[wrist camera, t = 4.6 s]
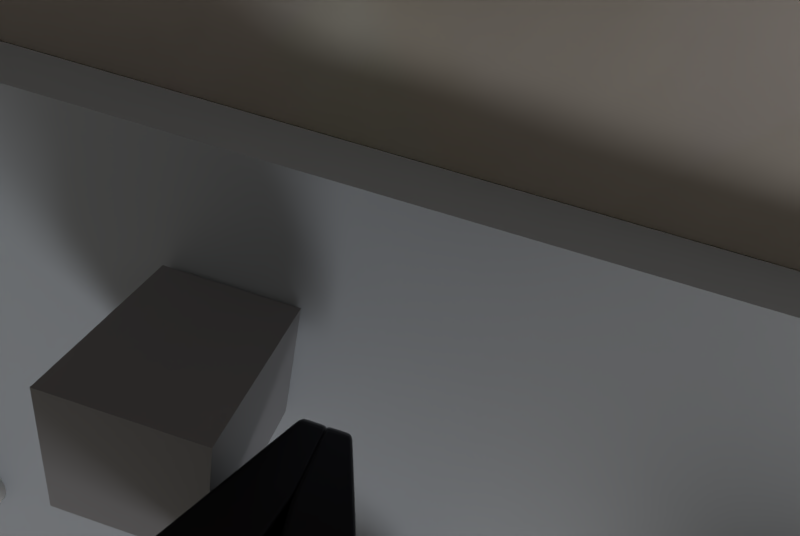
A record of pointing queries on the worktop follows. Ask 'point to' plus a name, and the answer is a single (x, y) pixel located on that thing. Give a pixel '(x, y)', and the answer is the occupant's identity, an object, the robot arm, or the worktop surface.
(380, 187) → the panel
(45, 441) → the dark gray block
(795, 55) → the worktop surface
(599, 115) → the worktop surface
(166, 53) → the worktop surface
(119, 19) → the worktop surface
